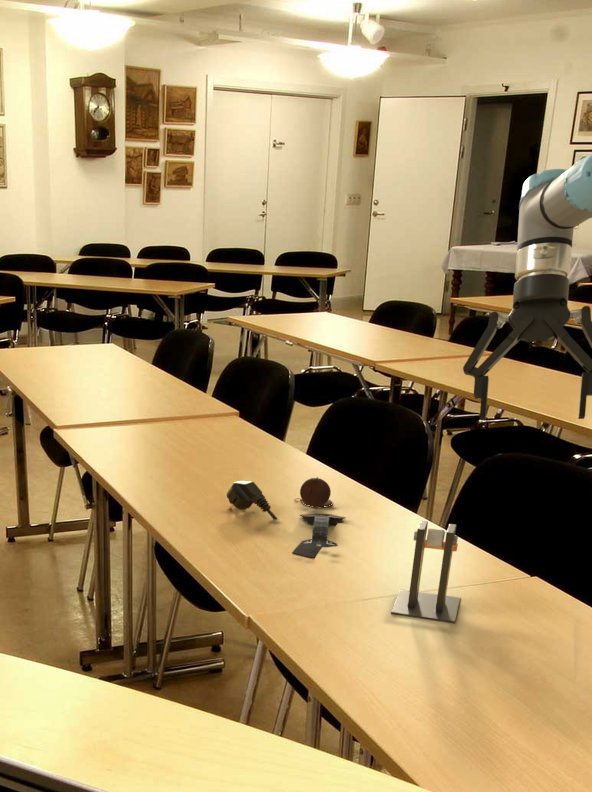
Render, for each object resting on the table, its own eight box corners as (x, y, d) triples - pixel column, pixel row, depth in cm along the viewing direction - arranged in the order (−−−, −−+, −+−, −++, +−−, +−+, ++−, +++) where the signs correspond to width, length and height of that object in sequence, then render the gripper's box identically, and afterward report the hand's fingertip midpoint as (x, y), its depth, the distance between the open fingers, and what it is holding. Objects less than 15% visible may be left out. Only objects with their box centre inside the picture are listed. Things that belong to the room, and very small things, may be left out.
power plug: (269, 519, 182) (232, 476, 186) (250, 543, 187) (215, 501, 192) (286, 513, 185) (250, 471, 189) (267, 536, 190) (233, 495, 195)
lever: (419, 550, 147) (422, 536, 147) (456, 555, 145) (458, 540, 145) (414, 542, 136) (416, 527, 135) (453, 547, 133) (456, 531, 133)
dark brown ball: (334, 502, 194) (337, 469, 191) (327, 514, 187) (330, 479, 185) (296, 499, 197) (299, 466, 194) (289, 510, 191) (291, 476, 188)
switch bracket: (399, 596, 146) (409, 514, 141) (459, 604, 142) (472, 520, 137) (390, 619, 138) (400, 532, 133) (453, 628, 134) (467, 540, 129)
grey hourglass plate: (291, 558, 164) (292, 540, 162) (299, 515, 185) (300, 499, 184) (343, 562, 161) (345, 544, 160) (345, 517, 183) (347, 501, 182)
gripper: (451, 279, 141) (442, 415, 142) (640, 263, 130) (628, 412, 131) (455, 292, 148) (445, 423, 149) (634, 279, 137) (623, 420, 138)
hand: (531, 418), depth 140 cm, fingers open, 13 cm apart
